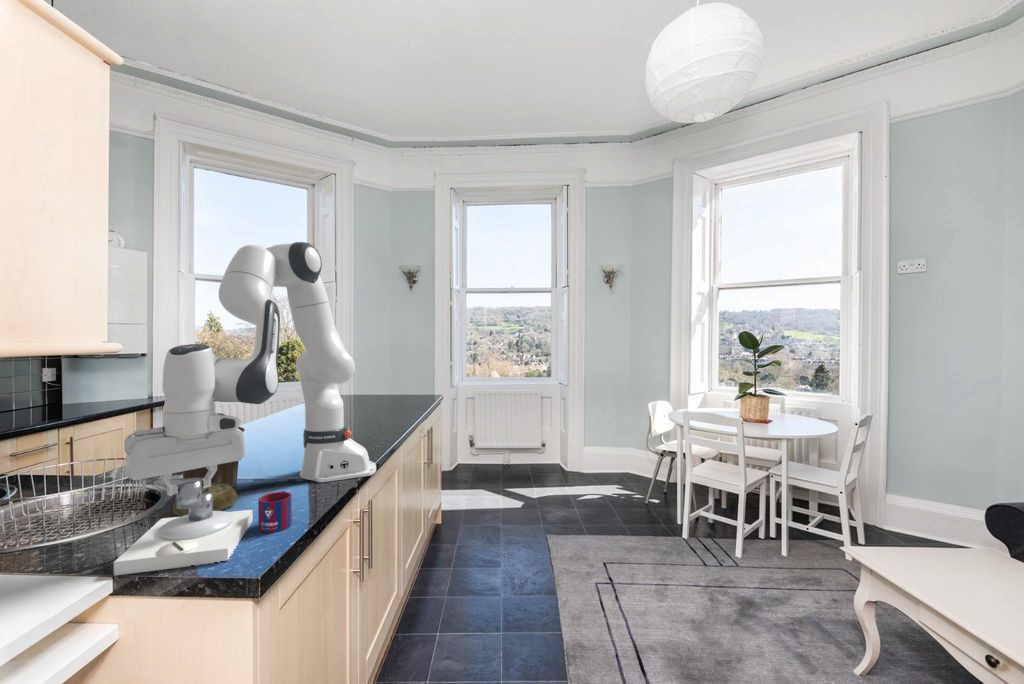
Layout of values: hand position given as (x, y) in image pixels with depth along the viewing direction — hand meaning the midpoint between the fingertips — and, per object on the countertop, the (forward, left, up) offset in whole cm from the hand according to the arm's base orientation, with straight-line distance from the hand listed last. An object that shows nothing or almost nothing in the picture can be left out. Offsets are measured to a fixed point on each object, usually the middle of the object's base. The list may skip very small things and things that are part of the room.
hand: (189, 490), depth 94 cm
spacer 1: (0, 0, -3) cm, 3 cm away
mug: (-15, -7, -12) cm, 20 cm away
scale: (0, -1, -11) cm, 11 cm away
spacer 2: (0, -7, -8) cm, 11 cm away
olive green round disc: (+4, -22, -12) cm, 26 cm away
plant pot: (+7, -38, -12) cm, 40 cm away
